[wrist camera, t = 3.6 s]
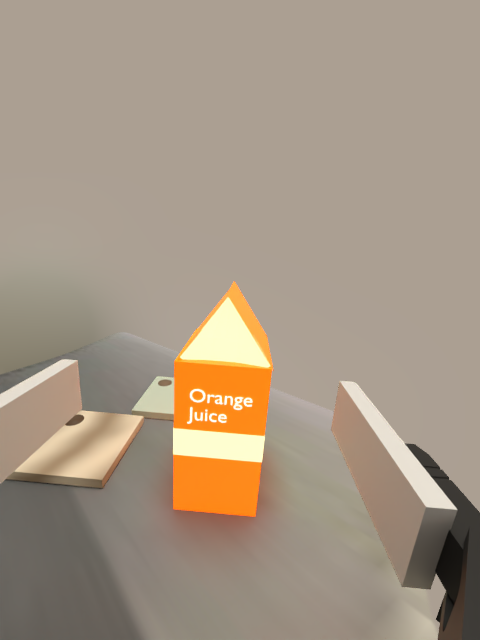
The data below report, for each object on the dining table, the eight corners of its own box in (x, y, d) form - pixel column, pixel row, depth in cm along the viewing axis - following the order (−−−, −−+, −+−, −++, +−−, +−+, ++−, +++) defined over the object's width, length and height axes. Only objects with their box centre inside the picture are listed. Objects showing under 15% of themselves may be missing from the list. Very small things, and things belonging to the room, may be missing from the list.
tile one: (1, 478, 26) (-1, 469, 25) (69, 416, 35) (68, 409, 35) (102, 488, 25) (101, 479, 25) (143, 422, 35) (143, 415, 35)
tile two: (132, 416, 36) (131, 410, 36) (157, 381, 46) (157, 376, 45) (204, 423, 36) (205, 416, 36) (214, 386, 45) (214, 380, 45)
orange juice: (171, 509, 24) (172, 290, 19) (192, 441, 32) (197, 277, 27) (257, 517, 24) (283, 298, 19) (255, 446, 32) (272, 283, 27)
